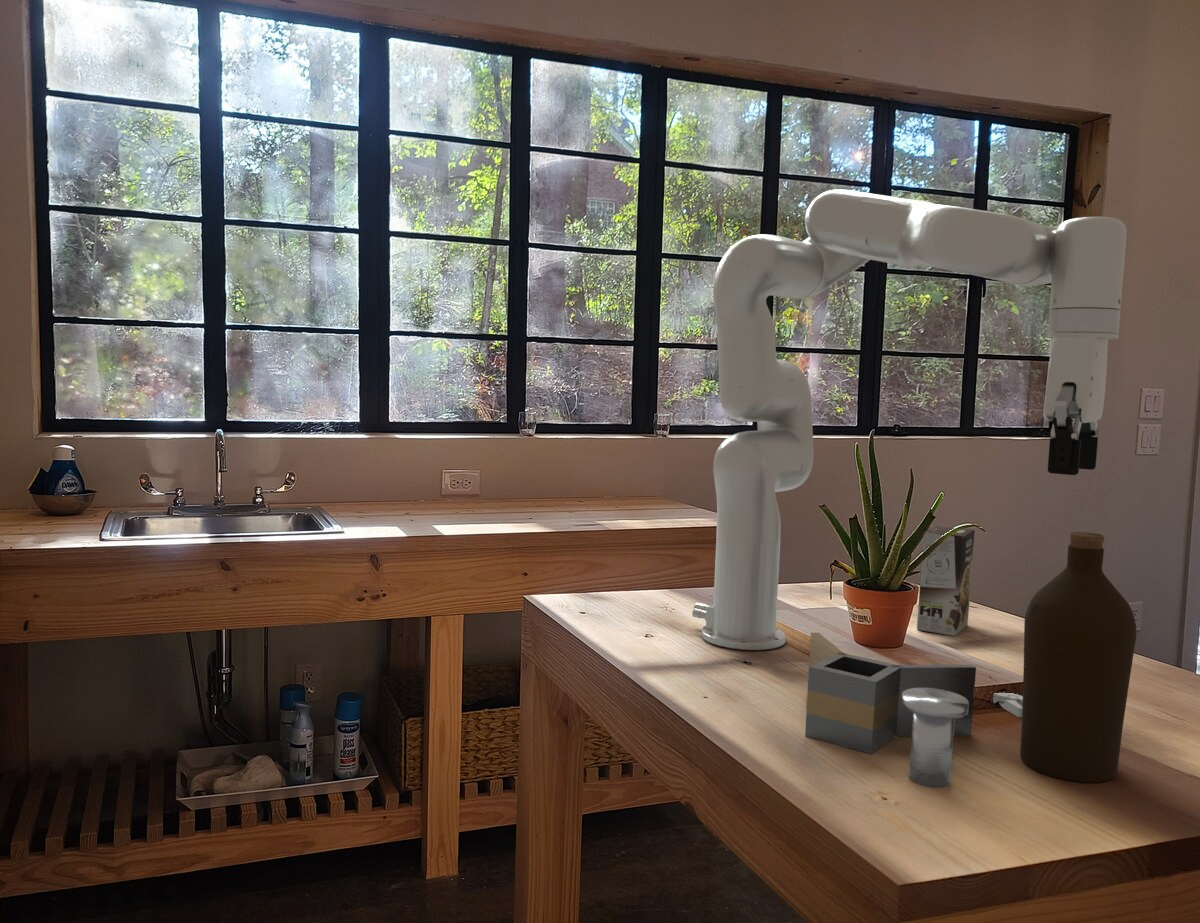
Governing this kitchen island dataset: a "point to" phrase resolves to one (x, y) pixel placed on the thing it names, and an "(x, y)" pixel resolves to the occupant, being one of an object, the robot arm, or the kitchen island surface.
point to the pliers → (1010, 702)
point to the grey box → (872, 696)
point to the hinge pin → (932, 733)
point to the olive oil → (1076, 669)
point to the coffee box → (946, 582)
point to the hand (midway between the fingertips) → (1072, 471)
